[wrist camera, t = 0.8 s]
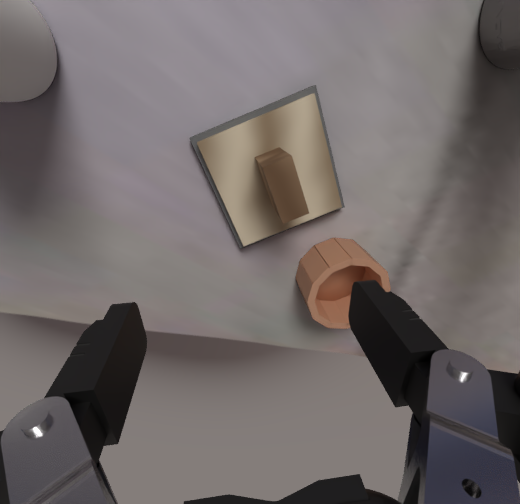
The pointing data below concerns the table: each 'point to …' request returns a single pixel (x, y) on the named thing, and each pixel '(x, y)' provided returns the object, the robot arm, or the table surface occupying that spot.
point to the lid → (273, 170)
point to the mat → (248, 117)
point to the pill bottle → (24, 52)
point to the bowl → (336, 279)
